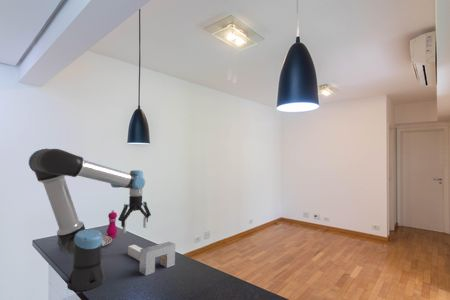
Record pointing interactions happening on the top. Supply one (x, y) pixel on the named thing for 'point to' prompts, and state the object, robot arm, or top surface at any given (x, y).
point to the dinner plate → (106, 240)
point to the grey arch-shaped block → (150, 253)
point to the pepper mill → (112, 225)
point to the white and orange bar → (134, 251)
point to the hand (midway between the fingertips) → (134, 229)
